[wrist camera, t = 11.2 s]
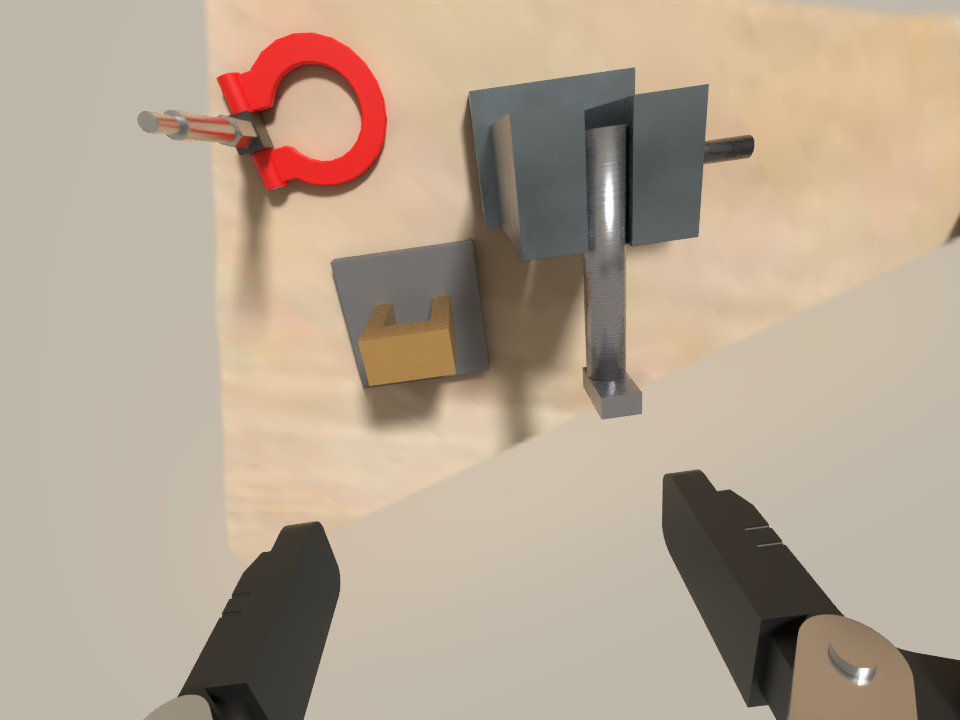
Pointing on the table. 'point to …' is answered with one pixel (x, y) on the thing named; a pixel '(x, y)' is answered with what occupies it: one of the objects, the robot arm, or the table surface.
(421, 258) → the rubber mat
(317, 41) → the tow hook
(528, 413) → the table surface
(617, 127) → the vise
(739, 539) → the robot arm
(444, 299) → the ochre slotted block
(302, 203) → the table surface
